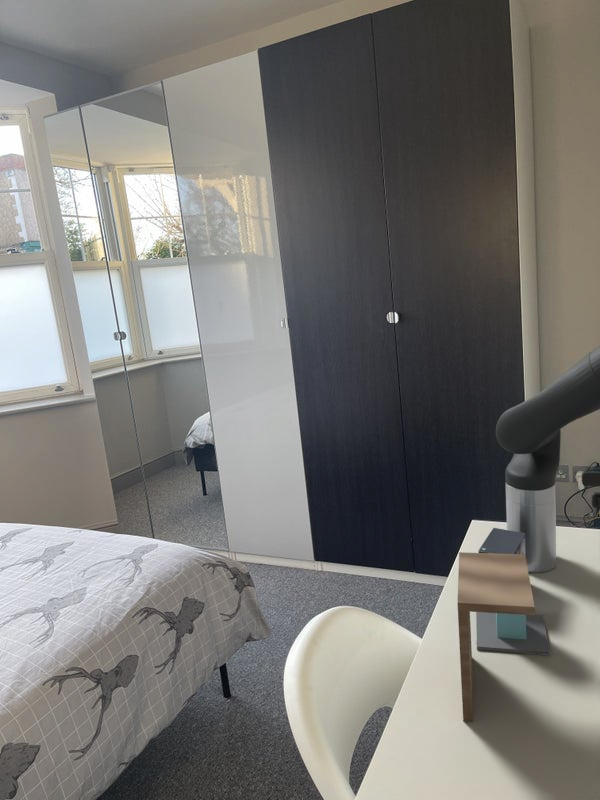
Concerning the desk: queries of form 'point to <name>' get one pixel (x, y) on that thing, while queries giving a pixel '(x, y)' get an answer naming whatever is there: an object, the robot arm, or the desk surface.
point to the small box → (504, 542)
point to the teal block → (511, 626)
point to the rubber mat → (530, 645)
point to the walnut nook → (488, 601)
